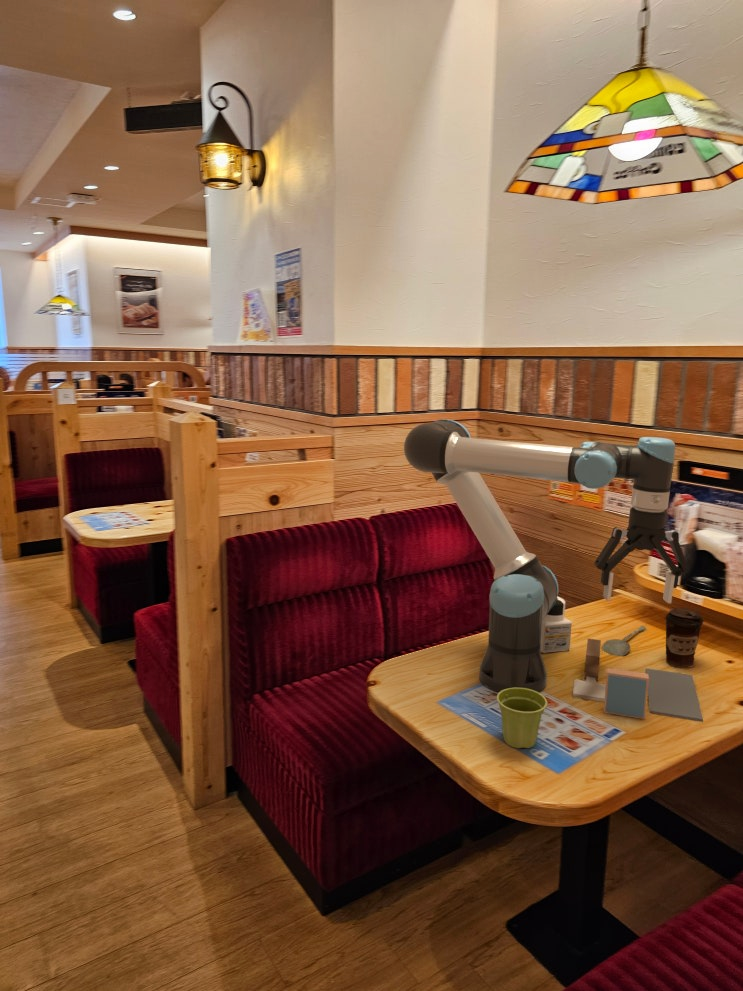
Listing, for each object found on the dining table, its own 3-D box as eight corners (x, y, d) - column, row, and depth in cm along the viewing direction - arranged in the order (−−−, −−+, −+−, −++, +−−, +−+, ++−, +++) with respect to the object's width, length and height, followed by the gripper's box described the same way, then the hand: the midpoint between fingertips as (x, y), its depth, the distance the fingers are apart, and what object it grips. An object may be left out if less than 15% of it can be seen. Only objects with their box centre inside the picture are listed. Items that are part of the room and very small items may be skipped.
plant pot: (553, 739, 129) (556, 698, 127) (529, 760, 122) (532, 717, 120) (510, 722, 135) (512, 682, 133) (485, 741, 128) (487, 700, 127)
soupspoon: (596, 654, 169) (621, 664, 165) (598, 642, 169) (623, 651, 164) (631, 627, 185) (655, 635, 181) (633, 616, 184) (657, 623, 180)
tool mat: (649, 712, 139) (649, 710, 139) (645, 670, 158) (645, 668, 158) (702, 721, 136) (702, 719, 136) (692, 676, 155) (692, 674, 155)
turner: (572, 696, 146) (574, 671, 144) (577, 660, 164) (579, 637, 162) (606, 702, 143) (608, 676, 142) (607, 664, 161) (609, 641, 160)
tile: (603, 713, 139) (606, 672, 137) (603, 707, 141) (607, 667, 139) (645, 720, 136) (648, 679, 135) (644, 714, 139) (648, 673, 137)
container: (542, 653, 167) (546, 604, 164) (527, 641, 174) (531, 593, 172) (570, 650, 169) (574, 601, 167) (553, 638, 176) (557, 591, 174)
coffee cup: (703, 672, 157) (709, 620, 155) (665, 669, 159) (670, 617, 156) (693, 657, 166) (698, 607, 163) (657, 654, 167) (662, 604, 165)
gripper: (597, 510, 143) (586, 603, 147) (714, 514, 143) (699, 608, 147) (586, 502, 150) (576, 591, 154) (697, 506, 150) (684, 596, 154)
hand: (636, 600), depth 151 cm, fingers open, 13 cm apart
